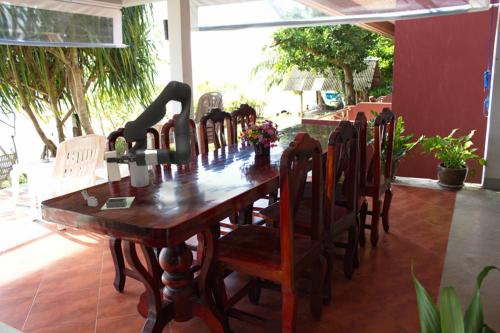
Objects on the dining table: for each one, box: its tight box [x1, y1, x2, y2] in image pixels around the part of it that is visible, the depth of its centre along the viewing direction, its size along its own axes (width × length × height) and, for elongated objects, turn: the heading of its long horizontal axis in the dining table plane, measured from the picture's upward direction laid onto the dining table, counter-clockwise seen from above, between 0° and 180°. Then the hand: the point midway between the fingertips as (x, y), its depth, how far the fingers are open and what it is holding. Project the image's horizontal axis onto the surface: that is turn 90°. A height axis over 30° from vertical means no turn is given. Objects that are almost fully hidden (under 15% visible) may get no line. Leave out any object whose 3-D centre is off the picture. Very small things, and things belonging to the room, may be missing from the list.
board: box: [101, 196, 135, 210], centre depth 202 cm, size 18×12×4 cm, turn 6°
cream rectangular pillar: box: [104, 142, 122, 182], centre depth 196 cm, size 3×4×17 cm, turn 97°
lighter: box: [81, 189, 99, 207], centre depth 199 cm, size 7×2×8 cm, turn 69°
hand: (107, 159), depth 195 cm, fingers closed on cream rectangular pillar, 2 cm apart
